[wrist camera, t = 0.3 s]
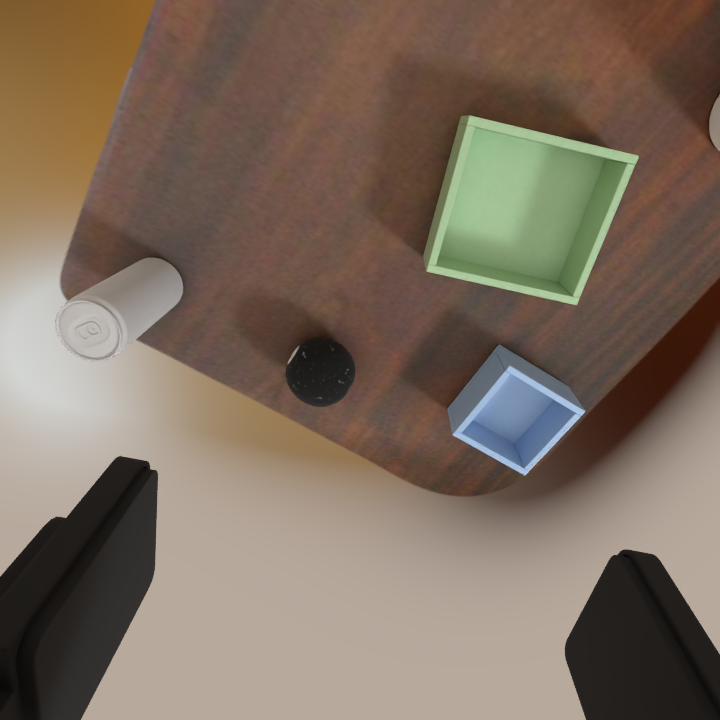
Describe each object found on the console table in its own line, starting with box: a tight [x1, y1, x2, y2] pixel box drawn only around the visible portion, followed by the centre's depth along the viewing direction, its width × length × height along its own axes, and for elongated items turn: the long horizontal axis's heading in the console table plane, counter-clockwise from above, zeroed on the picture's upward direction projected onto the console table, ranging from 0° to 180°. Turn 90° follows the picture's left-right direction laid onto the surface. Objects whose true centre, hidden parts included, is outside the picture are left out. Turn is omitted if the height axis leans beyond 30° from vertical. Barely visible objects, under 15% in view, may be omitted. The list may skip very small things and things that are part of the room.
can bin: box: [447, 344, 585, 475], centre depth 47 cm, size 8×8×5 cm
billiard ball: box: [286, 338, 355, 407], centre depth 46 cm, size 6×6×6 cm
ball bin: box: [423, 115, 639, 305], centre depth 40 cm, size 11×12×5 cm
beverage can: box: [55, 258, 183, 361], centre depth 41 cm, size 5×5×12 cm
